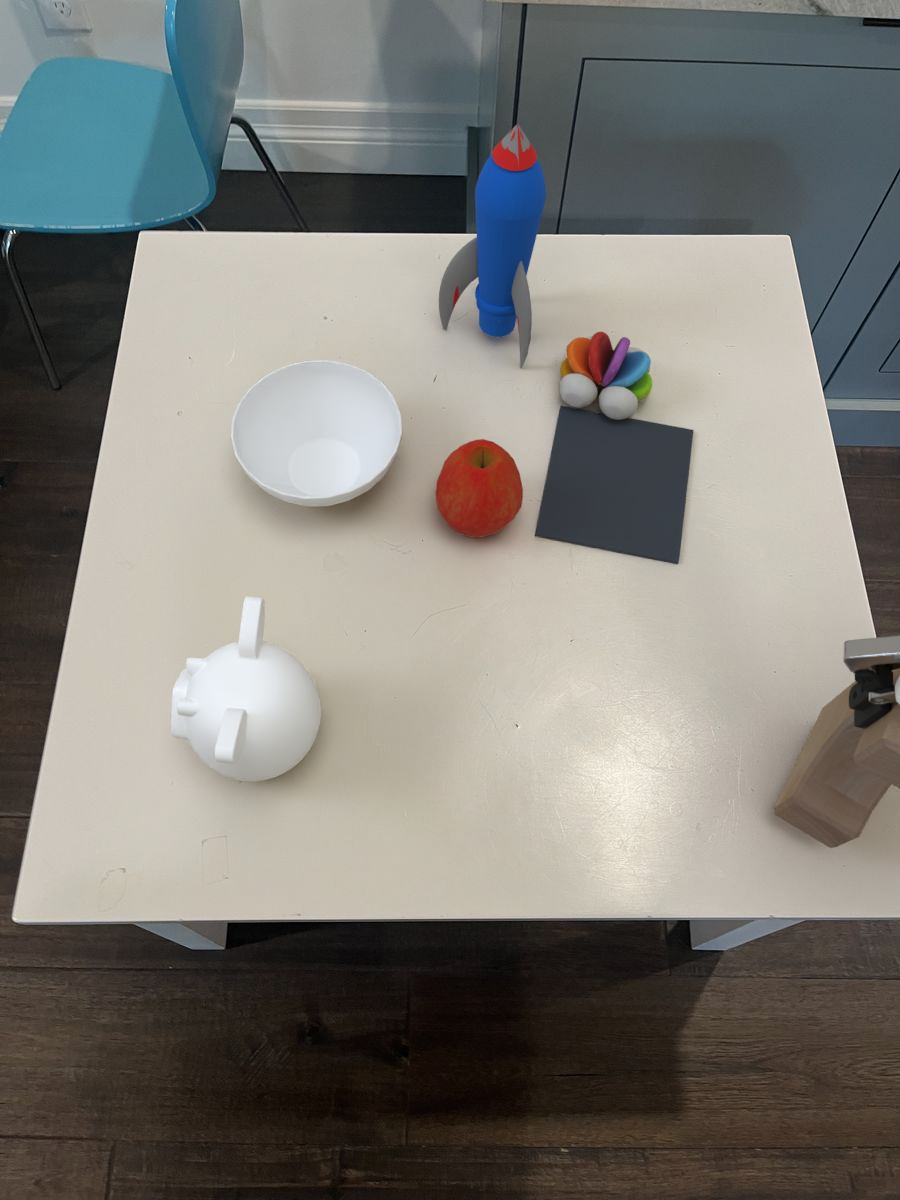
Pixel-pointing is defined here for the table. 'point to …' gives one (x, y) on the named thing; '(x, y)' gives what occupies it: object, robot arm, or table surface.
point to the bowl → (317, 432)
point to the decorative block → (841, 772)
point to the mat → (616, 485)
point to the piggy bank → (247, 704)
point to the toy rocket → (501, 242)
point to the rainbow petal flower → (605, 375)
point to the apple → (479, 489)
